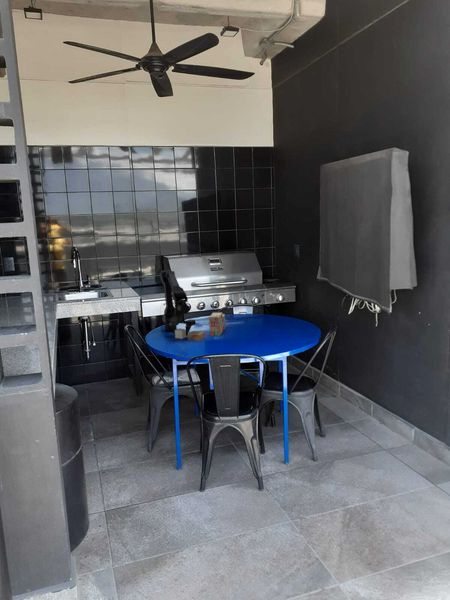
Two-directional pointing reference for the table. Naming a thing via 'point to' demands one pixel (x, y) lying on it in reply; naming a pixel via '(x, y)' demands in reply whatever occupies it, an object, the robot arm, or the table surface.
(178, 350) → the table surface
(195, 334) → the walnut block
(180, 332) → the cream cube
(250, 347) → the table surface
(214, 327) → the stack of blocks
